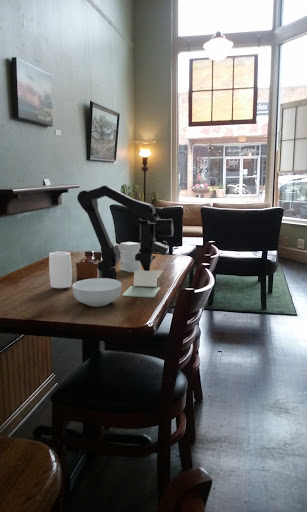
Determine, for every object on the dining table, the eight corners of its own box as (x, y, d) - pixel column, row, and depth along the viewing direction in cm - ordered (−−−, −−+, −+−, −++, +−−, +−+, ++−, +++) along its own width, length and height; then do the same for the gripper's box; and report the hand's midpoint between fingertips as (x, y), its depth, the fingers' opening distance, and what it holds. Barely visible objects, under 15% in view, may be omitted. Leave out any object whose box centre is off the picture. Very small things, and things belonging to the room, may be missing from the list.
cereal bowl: (63, 303, 147) (62, 283, 146) (101, 294, 159) (101, 275, 158) (92, 314, 135) (92, 292, 134) (131, 303, 147) (131, 283, 146)
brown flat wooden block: (158, 287, 168) (158, 277, 167) (133, 286, 170) (133, 276, 169) (164, 279, 181) (164, 270, 181) (141, 278, 183) (141, 269, 182)
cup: (50, 292, 162) (48, 255, 159) (49, 286, 170) (48, 251, 167) (73, 290, 164) (71, 254, 162) (71, 285, 172) (70, 250, 170)
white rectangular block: (156, 286, 167) (156, 286, 165) (134, 285, 168) (133, 285, 166) (157, 271, 167) (156, 271, 165) (135, 270, 169) (134, 270, 167)
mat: (153, 297, 154) (153, 296, 154) (121, 295, 156) (121, 295, 156) (160, 287, 168) (160, 287, 168) (131, 286, 170) (131, 285, 170)
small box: (141, 271, 198) (141, 243, 196) (130, 272, 194) (130, 244, 192) (131, 268, 205) (130, 241, 202) (120, 270, 201) (119, 242, 198)
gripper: (163, 239, 158) (163, 280, 160) (170, 233, 176) (170, 270, 178) (134, 239, 160) (134, 279, 162) (144, 232, 178) (144, 269, 180)
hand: (147, 274), depth 171 cm, fingers closed
